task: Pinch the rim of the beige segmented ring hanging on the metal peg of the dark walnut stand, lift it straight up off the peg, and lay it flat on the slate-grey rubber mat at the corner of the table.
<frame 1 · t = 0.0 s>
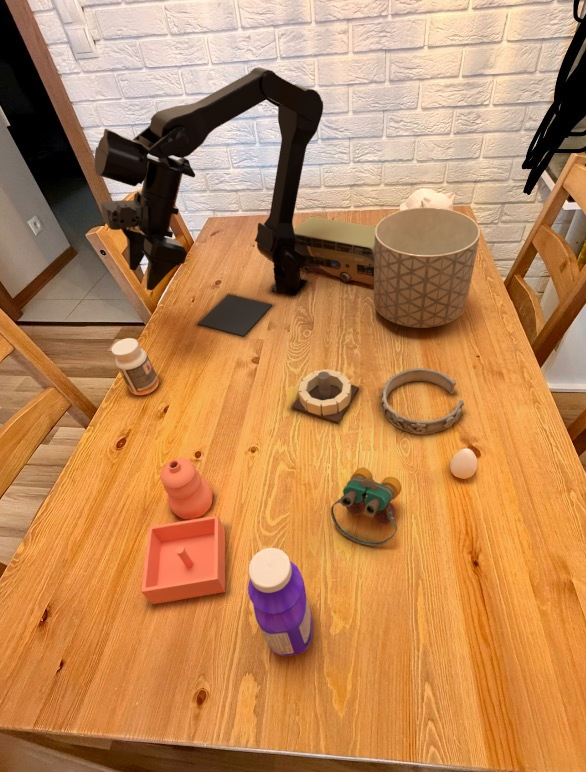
hand: (140, 279, 87), 15 cm above the table, tool tilted 35°, fingers open, 9 cm apart
bottle: (290, 628, 57), on the table
toy bus: (343, 271, 112), on the table
rubber mat: (235, 315, 102), on the table
binoculars: (368, 518, 66), on the table
bracelet: (420, 406, 80), on the table
egg: (461, 472, 70), on the table
pottery: (192, 536, 66), on the table
tape stand: (325, 399, 83), on the table
beige segmented ring: (325, 396, 82), point 1 cm above the table, touching tape stand
planter: (418, 312, 98), on the table
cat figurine: (421, 251, 115), on the table
pill bottle: (145, 386, 89), on the table
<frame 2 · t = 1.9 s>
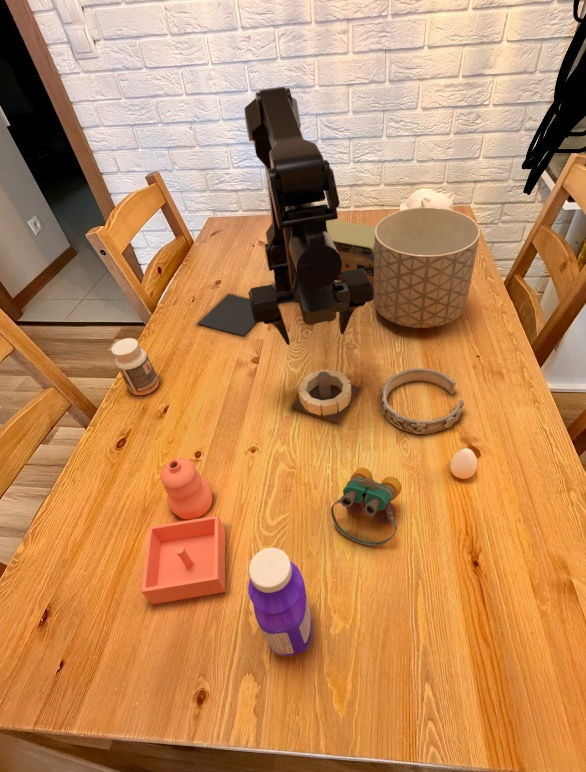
hand: (315, 338, 77), 11 cm above the table, tool pointing down, fingers open, 9 cm apart
nothing on the table moved.
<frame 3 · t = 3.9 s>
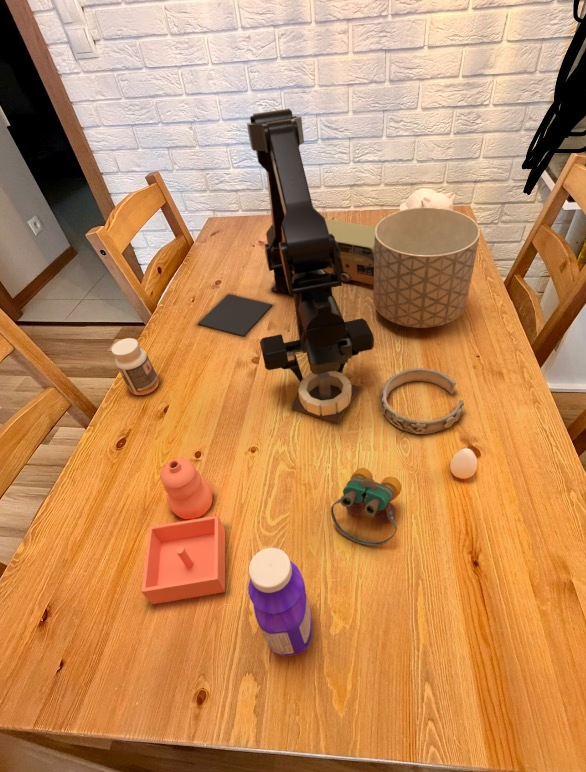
hand: (320, 379, 84), 1 cm above the table, tool pointing down, fingers closed on beige segmented ring, 6 cm apart
beige segmented ring: (325, 396, 82), point 1 cm above the table, touching gripper, tape stand
everything else where it was.
when the fingers open (1 cm above the table, at t = 10.8 s): beige segmented ring stays where it is, resting on rubber mat.
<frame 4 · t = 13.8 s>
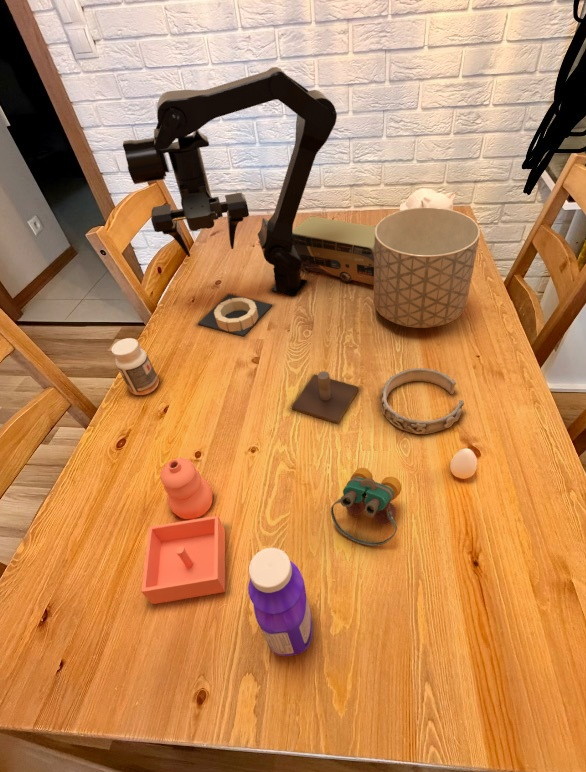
hand: (210, 251, 98), 12 cm above the table, tool pointing down, fingers open, 9 cm apart
beige segmented ring: (237, 318, 101), resting on rubber mat
everything else where it was.
at the end: beige segmented ring inside the target area on the rubber mat (2.1 cm from its centre), point 0.4 cm above the rubber mat's base; beige segmented ring tilted 0°; beige segmented ring touching rubber mat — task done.
